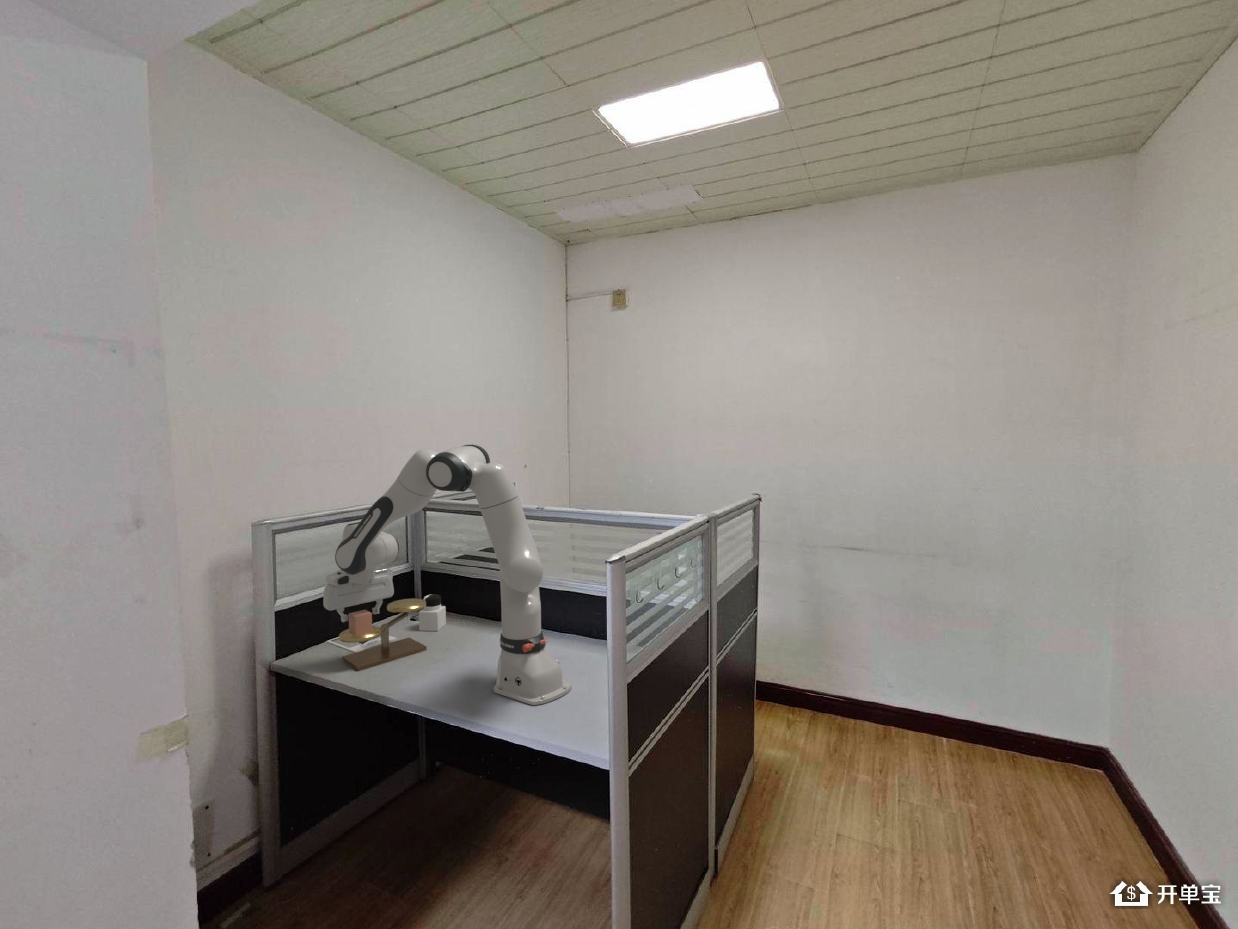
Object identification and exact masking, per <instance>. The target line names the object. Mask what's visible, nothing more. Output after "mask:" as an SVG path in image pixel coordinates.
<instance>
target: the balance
mask: <svg viewBox="0 0 1238 929" xmlns="http://www.w3.org/2000/svg"><path fill="white" fill-rule="evenodd" d="M425 606H426V601H425V600H424V598H423V599H422V598H403V599H399V600H398V599H397V600H393V601H392V602H390V603H387V605H386V610H387V612H390V613H397V614H399V613H400V615H398V616H395V617H394V618H393V619H392V620H391V619H390V621H388V622H386V623H382V624H381V625H380V626H377V625H372V632H370V633H367V634H363V635H359V636H354V635H353V634H351V633H349V628H347V629H344V630H342V631H341V632H340V633H339V635H338V637H339V639H338V640H339V641H340V642H342V643H349V644H350V643H354V644H355V643H359V644H364V643H366V642H369V641H372V640H375V639H377V638H379V637H381V645H380V646H377V647H374V648H370V649H367V650H363V651H360V652H356V653H353V652H352V653H350V654H347V655H343V656H341V661H343V662H344V663H345V664H347V665H348V666H349V667H351V668H352V669H354V670H355V671H356V672H360V671H362V670H364V671H365V670H367V669H369V668H373V667H376V666H379V665H383V664H386V663H388V662H393V661H396V660H399V659H402V658H405V657H409V656H413V655H415V654H418V653H421V652H425V651H427V645H425V644H422V643H421V642H419V641H417V640H415V639H413V638H411V637H406V638H402V639H399V640H398V639H397V640H394V641H391V642H389V636H390V631H389V630H390V628H391V627H393V626H394V625H395V624H397V623H399V622H400V621H402V620H404V619H406V618H407V617H408V616H409V614H410V613H412V612H416V611H421V610H422V609H424V607H425Z"/></svg>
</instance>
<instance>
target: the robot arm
mask: <svg viewBox="0 0 1238 929" xmlns="http://www.w3.org/2000/svg"><path fill="white" fill-rule="evenodd" d="M468 489H469V490H470V491H472V493H473V494H474V495H475V498H476V500H477V503H478V507H479V510H480V513H481V515H482V518H483V521H484V525H485V527H486V531H487V533H488V537H489V539H490V541H491V545H492V547H493V551H494V554H495V557H496V560H497V563H498V566H499V584H500V585H499V586H500V602H501V603H500V606H501V633H500V638H499V642H500V643H499V646H500V648H501V651H500V655H499V657H498V660H497V661H498V662H497V670H496V684H495V685H494V686H493V693H494V694H498V695H501V696H505V697H507V698H510V699H511V700H512V699H513V700H516V701H519V702H522V703H524V704H528V705H530V706H531V705H532V706H537V705H543V704H546V703H549V702H552V701H555V700H557V699H559V698H561V697H563V696H564V695H566V694H567V693H569V692H570V691H571V689H572V683H570V682H568V681H567V680H566V679H564V678H563V671H562V668H561V664H560V661H559V659H558V658H555V657H554V656H553V655H552V653H551V652H550V651H549V649H548V648H547V644H546V643H547V640H548V638H545V637H544V636H545V635H544V633H543V630H542V606H541V605H542V602H541V596H540V583H541V582H542V579H543V576H544V565H543V562H542V559H541V556H540V554H539V550H538V548H537V544H536V542H535V540H534V537H533V534H532V532H531V529H530V526H529V524H528V521H527V518H526V515H525V512H524V508H523V506H522V503H521V500H520V497H519V496H520V495H519V493H518V490H517V488H516V486H515V483H514V480H513V479H512V477H511V475H510V473H509V472H508V470H507V468H506V466H504V465H503V464H502V463H498V462H491V459H490V455H489V454H488V452H487V451H486V450H485V448H483V447H481V446H480V445H477V444H464V445H462V446H456V447H452V448H449V449H447V450H445V451H442V452H437V451H436V450H433V449H431V448H421V449H419V450H417V451H416V452H415V453H414V454H413V455H412V456H411V457H410V458H409V460H407V462H406V464H404V466H403V468H402V469H401V470H400V473H399V475H398V476H397V477H396V479H395V481H394V482H393V483H392V485H391V486H390V487H389V488H388V489H387V490H386V491H385V492H384V493H383V494H382V496H380V498H378V499H377V500H376V501H375V502H374V503H373V504H372V505H371V507H370V508H369V509H368V510H367V512H366V513H365V514H364V516H363V517H362V519H361V520H360V521H358V522H357V521H356V522H352V523H348V524H347V525H345V526H344V528H343V532H342V539H341V540H342V541H341V542H340V543H339V544H338V546H337V548H336V551H335V554H334V556H335V557H334V561H335V564H336V565H337V567H338V568H339V570H337V571H335V572H332V573H330V574H329V575H327V576H326V578H325V581H326V583H327V584H326V586H325V587H324V590H323V597H322V598H323V600H322V601H323V603H322V604H323V607H324V609H325V610H328V611H330V612H331V611H335V610H336V612H337V613H338V614H339V615H340V621H341V622H342V623H345V622H349V614H348V615H347V614H346V613H345V614H344V612H345V608H348V607H349V608H350V607H353V606H354V607H355V606H359V605H360V604H366V603H370V602H376V604H375V606H374V607H371V608H372V609H371V610H372V612H371V613H372V615H378V614H380V608H381V606H382V604H383V602H384V599H389V598H392V597H393V595H394V593H395V588H394V582H393V576H394V575H393V574H394V573H393V571H392V570H391V569H390V568H382V569H375V568H379V567H382V566H386V565H389V564H391V563H393V562H395V561H396V559H397V558H398V556H399V554H400V545H399V541H398V539H397V537H395V536H394V535H393V534H392V533H389V532H384V531H383V530H384V528H387V527H388V526H389V525H390V524H391V523H393V522H395V521H398V520H401V519H402V518H404V517H408V516H409V515H410V516H411V515H413V514H415V513H418V512H419V511H420V512H421V511H422V510H423V509H424V508H425V507H426V506H427V505H428V504H429V503H430V502H431V500H432V499H433V496H434V495H435V493H436V491H437V490H438V491H441V492H442V491H443V492H463V493H464V492H466V491H467V490H468Z"/></svg>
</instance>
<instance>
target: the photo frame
mask: <svg viewBox="0 0 1238 929" xmlns="http://www.w3.org/2000/svg"><path fill="white" fill-rule="evenodd" d="M338 638H339V636H338V637H335V638H331V639H329V640H326V643H328V644H330V645H333V646H335V647H339V648H341V649H343V650H345V651H349V652H351V653H352V654H353V653H356V652H360V651H363V650H367V649H370V648H374V647H377V646H381V636H379V637H376V638H374V639H371V640H369V641H367V642H366V643H364V644H361V643H359V644H357V645H355V646H352V647H347V646H344V645H342V644H339V643H337V642H334V641H335V640H339V639H338ZM395 641H398V637H395V636H391V635H389V643H391V642H395Z"/></svg>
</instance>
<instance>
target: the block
mask: <svg viewBox="0 0 1238 929" xmlns="http://www.w3.org/2000/svg"><path fill="white" fill-rule="evenodd" d="M372 626H373V613H372V612H370V611H369V610H367V609H362V610H358V611H354V612H349V613H348V629H349V633H351V634H353V635H354V636H359V635H363V634H367V633H370V632H372Z"/></svg>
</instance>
